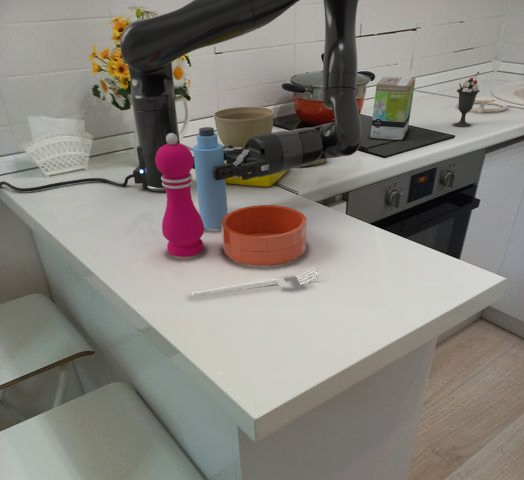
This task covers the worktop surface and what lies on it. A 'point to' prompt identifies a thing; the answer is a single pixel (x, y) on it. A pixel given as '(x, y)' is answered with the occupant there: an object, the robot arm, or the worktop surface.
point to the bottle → (209, 178)
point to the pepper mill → (179, 200)
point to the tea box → (392, 107)
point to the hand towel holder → (487, 101)
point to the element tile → (256, 180)
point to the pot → (264, 235)
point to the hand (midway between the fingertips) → (202, 168)
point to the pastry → (316, 162)
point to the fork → (260, 283)
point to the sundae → (466, 99)
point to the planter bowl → (242, 124)
